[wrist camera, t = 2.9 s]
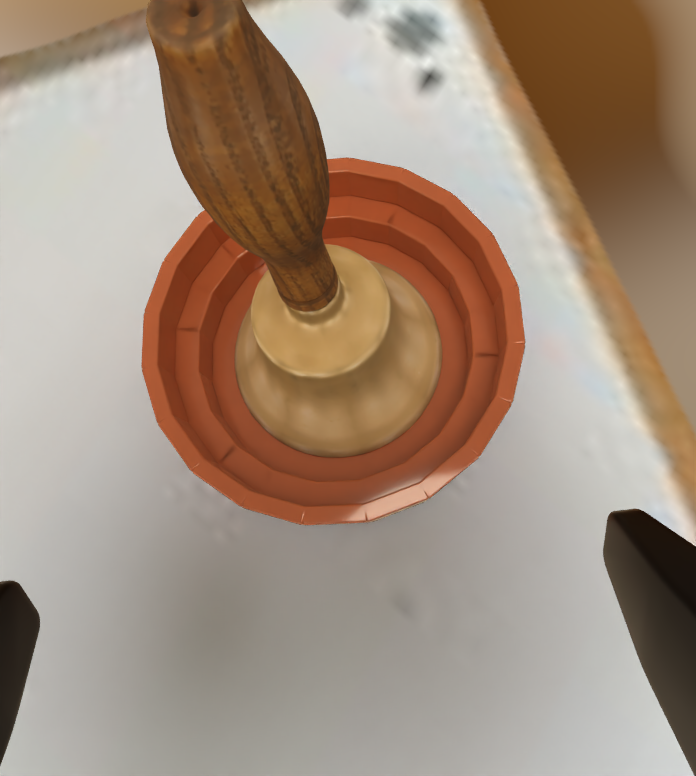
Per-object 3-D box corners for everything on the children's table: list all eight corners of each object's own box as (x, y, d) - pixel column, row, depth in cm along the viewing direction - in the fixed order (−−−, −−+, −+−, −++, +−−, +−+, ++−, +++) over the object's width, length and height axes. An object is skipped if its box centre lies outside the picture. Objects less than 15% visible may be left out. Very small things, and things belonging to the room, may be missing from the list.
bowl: (565, 306, 23) (595, 267, 19) (387, 595, 21) (385, 610, 17) (297, 160, 25) (281, 102, 22) (116, 405, 23) (67, 384, 20)
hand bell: (324, 503, 21) (139, 454, 6) (195, 347, 23) (-199, 4, 8) (486, 361, 22) (691, -8, 7) (348, 221, 24) (261, -318, 9)
